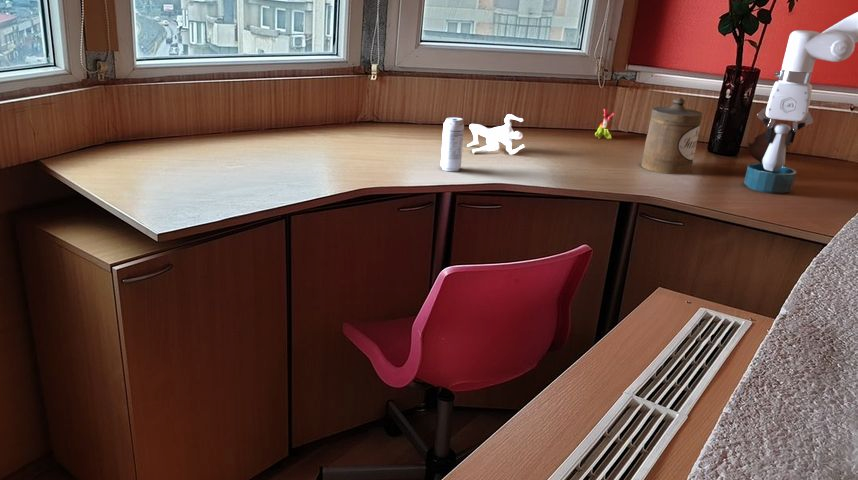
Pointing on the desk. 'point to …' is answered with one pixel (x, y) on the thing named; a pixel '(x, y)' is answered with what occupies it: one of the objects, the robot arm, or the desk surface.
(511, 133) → the person figurine
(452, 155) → the energy drink can
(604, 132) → the bird rattle
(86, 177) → the desk surface
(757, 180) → the bowl
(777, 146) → the salt shaker
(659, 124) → the wooden container
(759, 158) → the brown rounded lumpy piece
